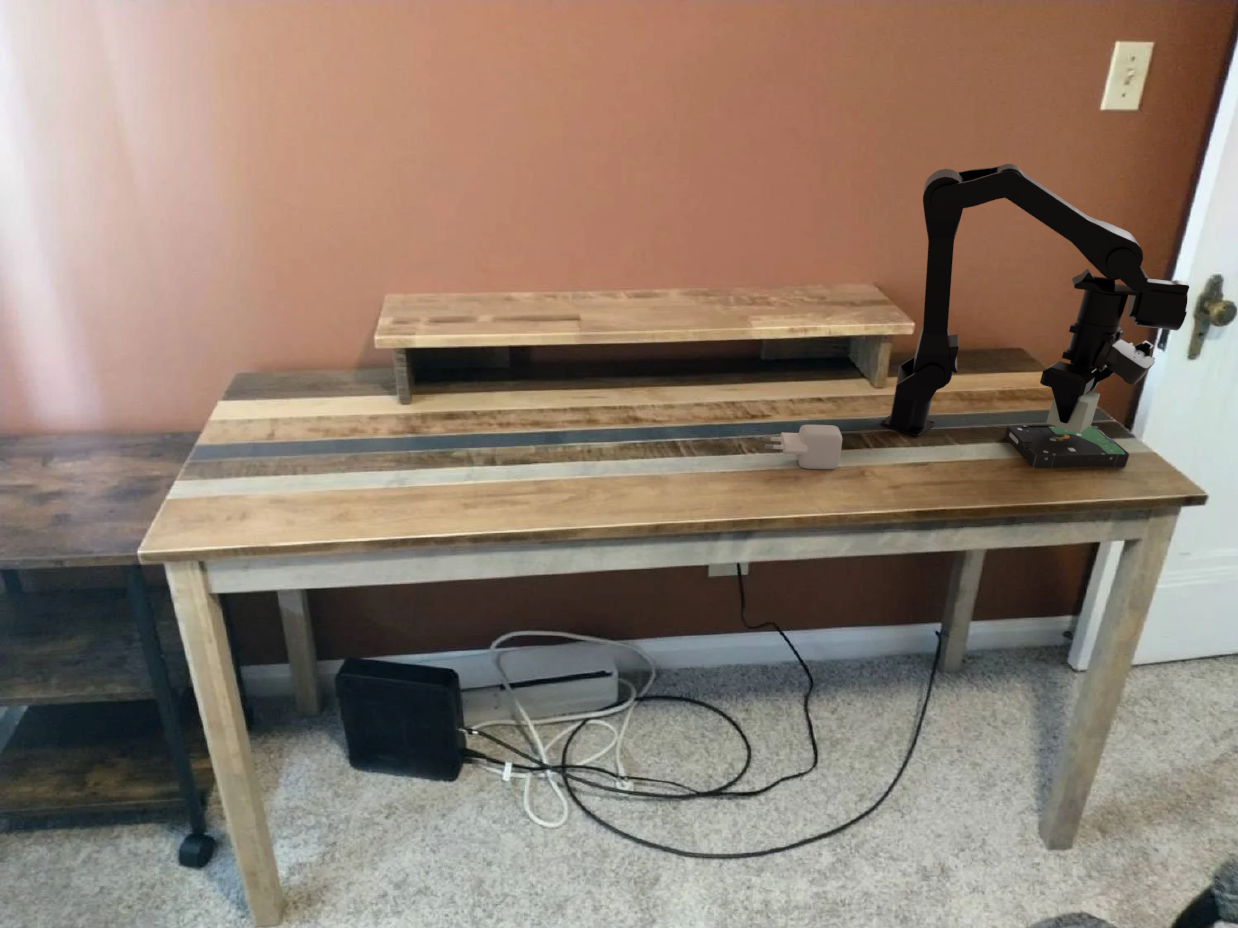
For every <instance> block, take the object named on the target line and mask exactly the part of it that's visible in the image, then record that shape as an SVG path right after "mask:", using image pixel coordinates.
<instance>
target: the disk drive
mask: <svg viewBox="0 0 1238 928" xmlns="http://www.w3.org/2000/svg"><path fill="white" fill-rule="evenodd" d="M1004 439H1005V440H1006V441H1007V440H1008V441H1007V442H1008V443H1009V444H1010V445H1011V446H1012V447H1013V448H1014V449H1015V450H1016V452H1018V453H1019V455H1020V456H1021V457H1022V458H1023V459H1024V460H1025V461H1026V462H1027V463H1028V464H1029V465H1030V466H1031V467H1032V468H1033V469H1036V468H1037V469H1038V468H1040V469H1041V468H1042V469H1044V468H1045V469H1051V468H1057V469H1058V468H1126V466H1127V463H1128V461H1129V458H1130V453H1129V452H1128V451H1127V450H1126V449H1125V448H1123V447H1122V445H1120V444H1119V443H1117V441H1116V440H1114V439H1113V438H1110V437H1108V435H1107V434H1105V433H1104V432H1103V431H1102V430H1100V427H1099V426H1096V425H1092V424H1091V425H1089V426H1088V427H1087V428H1086V429H1085V430H1084V431H1082V432H1081V433H1080V434H1078V433H1075V432H1072V431H1069V430H1066V429H1063V428H1060V427H1057V426H1054V425H1051V424H1032V425H1031V424H1027V425H1026V424H1025V425H1024V424H1019V425H1018V424H1016V425H1015V424H1012V425H1007V427H1006V431H1005V435H1004Z"/></svg>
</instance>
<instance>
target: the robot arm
mask: <svg viewBox="0 0 1238 928" xmlns="http://www.w3.org/2000/svg"><path fill="white" fill-rule="evenodd" d="M1000 199H1006V200H1009V201H1010V202H1012V203H1013V204H1014V205H1015V206H1017V207H1018V208H1020V209H1021V210H1023V211H1025V212H1026V213H1028V214H1029V215H1031V217H1033V218H1035V219H1036V220H1038V221H1039V222H1040V223H1042V224H1044V226H1046V227H1048V228H1049V229H1051V230H1053V231H1054V232H1055V233H1057V234H1058V235H1060V236H1062V237H1063V238H1065V239H1066V240H1067V241H1068V242H1070V243H1071V244H1073V245H1074V247H1075V248H1076V249H1078V251H1079V252H1080V253H1081V254H1082V255H1083V256H1084V258H1085V259H1086V260H1087V261H1088V262H1089V263H1090V264H1091V265H1092V266H1093V267H1094V268H1095V269H1096V270H1097V271H1098V272H1099V273H1100V274H1101V275H1102V276H1098V275H1093V274H1092V273H1091V271H1090V269H1088V268H1086V269H1085V270H1084V271H1083V272H1082V273H1080V274H1078V275H1076V276H1074V277H1072V279H1071V282H1072V285H1073V288H1074V289H1076V290H1081V291H1082V290H1084V291H1083V295H1082V297H1081V298H1082V299H1081V301H1080V304H1079V309H1078V311H1077V316H1076V318H1075V322H1074V323H1072V324H1071V325H1070V326H1069V330H1068V333H1071V334H1072V335H1071V338H1070V340H1069V341H1070V342H1069V346H1068V348H1067V349H1065V350H1063V352H1062V354H1061V355H1062V356H1061V359H1063V360H1067V361H1070V362H1069V363H1068V362H1064V361H1062V360H1059V361H1057V362H1055V363H1053V364H1051V365H1049V366H1048V367H1047V368H1046V369H1044V370H1042V373H1041V378H1040V381H1039V383H1040V384H1041V386H1044V387H1048V388H1051V391H1052V395H1053V397H1054V398H1055V402H1056V406H1057V411H1058V415H1059V419H1060V422H1063V423H1068V422H1069V420H1070V418H1071V416H1072V414H1073V412H1074V410H1075V408H1076V406H1077V404H1078V402H1079V400H1080V398H1081V396H1083V395H1085V394H1088V393H1089V392H1091V391H1092V392H1095V390H1096V388H1097V386H1098V385H1099V383H1100V382H1101V381H1103V380H1106V379H1107V378H1109V377H1112V375H1114V374H1115V375H1117V376H1118V377H1120V378H1121V379H1122V380H1123V381H1124V382H1125V383H1127V384H1129V385H1130V386H1134V385H1136V384H1137V383H1138V382H1139V381H1141V380H1142V379H1143V377H1145V375H1146V374H1147V373H1148V371H1149V370H1150V369H1151V368H1152V367H1153V365H1154V364H1155V363H1156V362H1155V360H1156V357H1154V355H1153V353H1154V349H1155V345H1154V344H1153V343H1151V342H1149V340H1146V339H1145V340H1143V341H1141V342H1138V343H1137V344H1135V345H1134V343H1133V342H1130V343H1128V342H1126V340H1124V339H1122V338H1123V335H1124V330H1123V327H1122V326H1121V327H1120V324H1121V321H1122V318H1123V314H1124V312H1125V307H1126V317H1127V318H1132V325H1133V326H1137V327H1138V326H1139V327H1145V328H1153V329H1162V330H1171V331H1177V332H1178V331H1179V330H1180V329H1181V328H1182V326H1183V323H1184V322H1185V319H1186V316H1187V312H1188V311H1187V305H1188V292H1189V291H1190V290H1189V289H1190V286H1189V284H1188V282H1187V281H1185V280H1166V279H1163V280H1162V279H1155V278H1149V276H1148V275H1147V273H1146V272H1145V270H1144V269H1143V268H1141V266H1142V264H1143V260H1144V253H1143V252H1144V251H1143V250H1142V247H1141V246H1140V243H1138V241H1137V240H1136V238H1135V236H1134V235H1133V234H1132V233H1131V232H1129V231H1127V230H1125V229H1122V228H1120V227H1119V226H1117V225H1113V224H1112V223H1109V222H1106V221H1102V220H1100V219H1097V218H1094V217H1092V216H1089V215H1087V214H1085V213H1084V212H1083V211H1081V210H1080V209H1078V208H1077V207H1075V206H1074V205H1072V204H1071V203H1069V202H1068V201H1066V200H1065V199H1063V198H1062V197H1060V196H1059V195H1057V194H1056V193H1054V192H1053V191H1051V190H1050V189H1049V188H1046V187H1045V186H1044V185H1042V184H1041V183H1040V182H1038V181H1036V180H1035V179H1034V178H1032V177H1031V176H1029V175H1028V174H1027V173H1024V171H1022V169H1021V168H1020V167H1019V166H1018V165H1016V164H1014V163H1005V164H1002V165H998V166H993V167H982V168H974V169H969V170H963V171H956V170H953V169H951V168H949V169H948V168H943V169H938V170H937V171H935V172H933V173H932V174H930V175H929V176H928V178H926V181H925V184H924V188H923V195H922V205H923V212H924V213H923V214H924V221H925V228H926V234H927V242H928V243H927V258H926V274H925V292H924V309H923V310H924V311H923V323H922V327H921V331H920V333H919V338H918V340H917V345H916V349H915V353H914V356H912V357H911V358H909V359H908V360H906V361H905V362H903V363H902V364H900V365H899V366H898V371H897V379H896V385H895V391H894V396H893V401H892V406H891V407H892V408H891V412H890V415H888V416H886V417H885V418H883V419H882V420H880V424H881V425H882V426H885V427H888V428H889V429H890V428H891V429H893V430H897V431H898V432H902V433H904V434H907V435H910V436H912V437H919V436H921V435H922V434H924V433H925V432H926V431H929V430H930V429H931V428H933V427H934V426H936V425H935V424H936V422H935V421H933V420H931V419H928V418H929V414H930V408H931V404H932V400H933V398H934V397H933V396H934V395H935V394H936V392H937V391H939V390H940V389H943V388H944V387H946V386H947V385H948V384H949V383H950V382H951V380H952V377H953V373H954V374H957V373H958V356H957V355H958V352H959V347H960V345H959V334H950V332H949V330H950V329H949V316H950V315H949V314H950V303H951V302H950V301H951V287H952V272H953V259H954V248H955V247H954V246H955V240H956V239H955V238H956V235H957V232H958V229H959V226H960V221H961V219H962V214H963V210H964V209H968V208H974V207H976V206H980V205H983V204H987V203H989V202H993V201H996V200H1000ZM1117 280H1120V281H1121V282H1122V283H1123V284H1122V283H1121V284H1120V283H1116V281H1117ZM1128 297H1129V298H1128Z"/></svg>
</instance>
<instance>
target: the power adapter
mask: <svg viewBox="0 0 1238 928" xmlns="http://www.w3.org/2000/svg"><path fill="white" fill-rule="evenodd" d="M840 430H841V429H840V428H839V427H838V426H836V425H833V424H832V425H829V424H803V425H801V426H800V428H799V431H798V432H783V431H782V432H781V433H780V436H771V435H770V436H766V435H765V436H762V437H761V440H762V442H780V444H770V443H769V444H764V448H763V449H765V450H782V453H783V454H784V455H795V456H796V459H797V463H798V465H799V467H800V468H802V469H806V470H807V469H808V470H809V469H810V470H835V469H838V466H839V464H840V463H839V462H840V459H841V453H842V452H841V451H842V446H843V436H842V433H841V431H840Z"/></svg>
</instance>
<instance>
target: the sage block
mask: <svg viewBox="0 0 1238 928" xmlns="http://www.w3.org/2000/svg"><path fill="white" fill-rule="evenodd" d="M1100 396H1101V393H1099V392H1095V391H1093V392H1092V391H1091V392H1089V393H1088V394H1085V395H1083V396H1081V398H1080V400H1079V402H1078V404H1077V406H1076V408H1075V410H1074V412H1073V414H1072V416H1071V418H1070V420H1069V422H1068V423H1063V422H1060V419H1059V415H1058V411H1057V406H1056V402H1055V398H1054V396H1053V397H1052V402H1051V405H1050V407H1049V412H1048V415H1047V419H1046V425H1054V426H1057V427H1060V428H1063V429H1066V430H1069V431H1072V432H1075V433H1078V434H1080V433H1081V432H1082V431H1084V430H1085V429H1086V428H1087V427H1088V426H1089V425H1091V426H1092V423H1093V419H1094V416H1095V413H1096V410H1097V407H1098V403H1099V400H1100Z"/></svg>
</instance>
